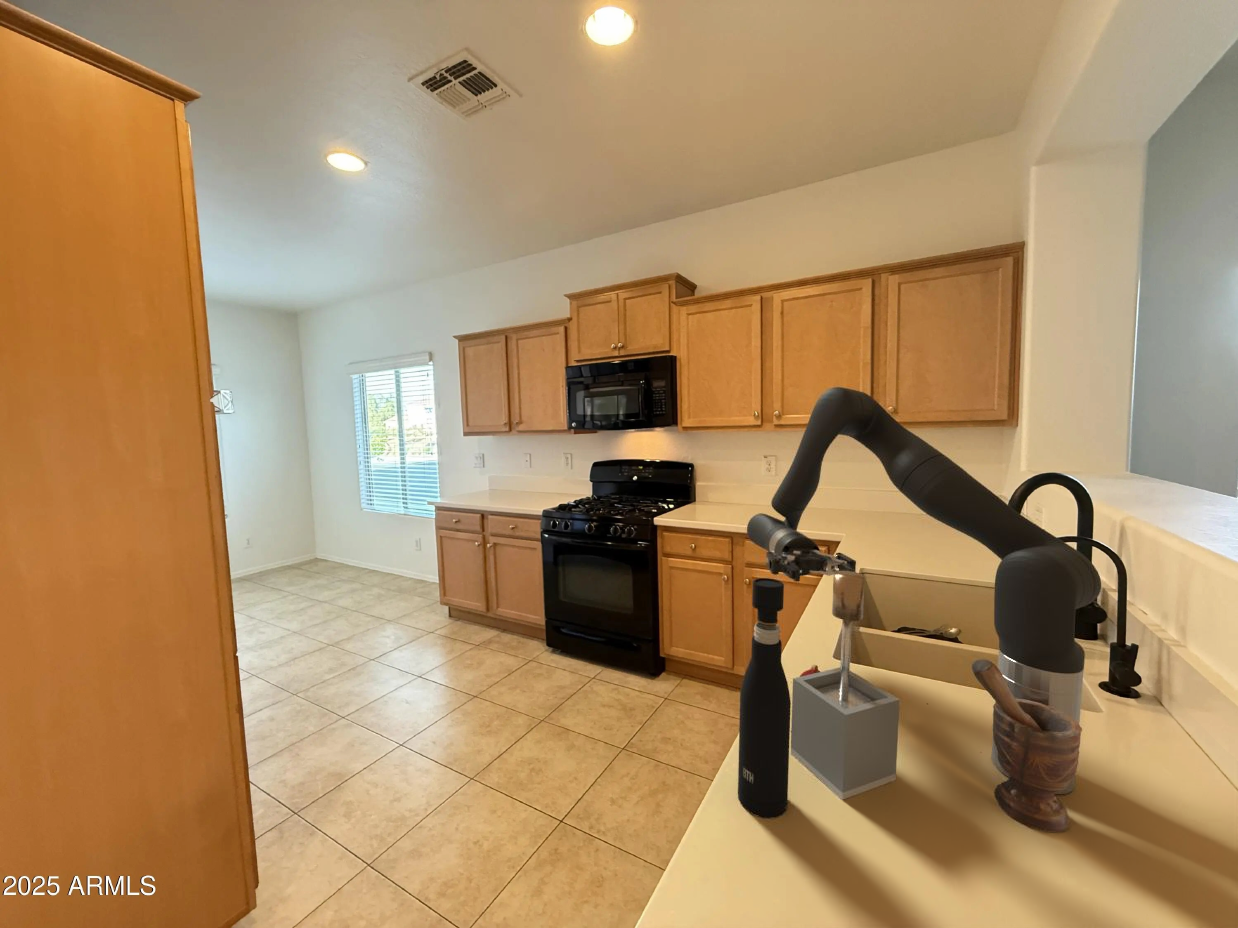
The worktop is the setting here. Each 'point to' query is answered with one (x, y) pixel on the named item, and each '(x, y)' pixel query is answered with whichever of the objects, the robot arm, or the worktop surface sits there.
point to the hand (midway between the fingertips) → (824, 576)
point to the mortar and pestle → (1030, 753)
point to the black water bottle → (765, 711)
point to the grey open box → (845, 734)
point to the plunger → (846, 634)
